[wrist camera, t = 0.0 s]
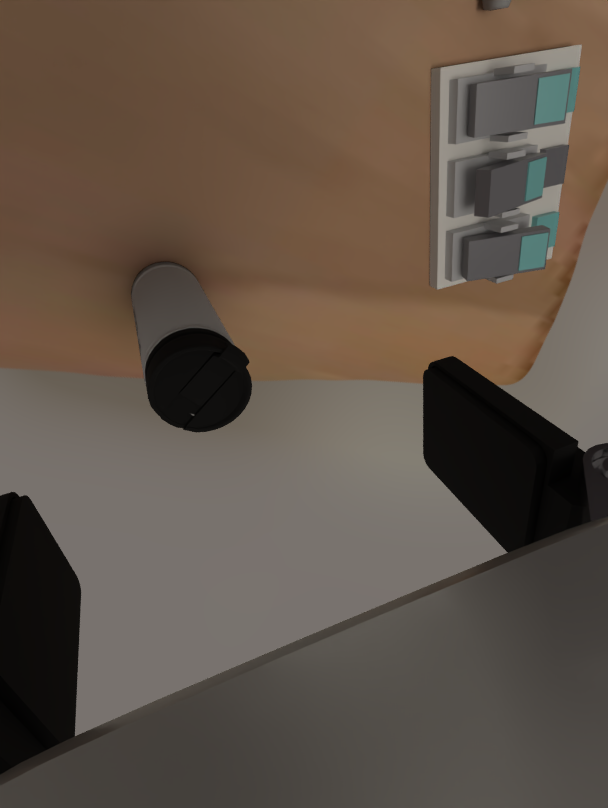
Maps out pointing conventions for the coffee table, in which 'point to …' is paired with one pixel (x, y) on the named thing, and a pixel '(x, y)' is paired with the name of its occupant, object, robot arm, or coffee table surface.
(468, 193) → the switch unit
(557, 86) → the rocker nearest
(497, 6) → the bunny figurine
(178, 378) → the travel mug
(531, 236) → the rocker
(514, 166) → the rocker middle
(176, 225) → the coffee table surface
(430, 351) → the coffee table surface
